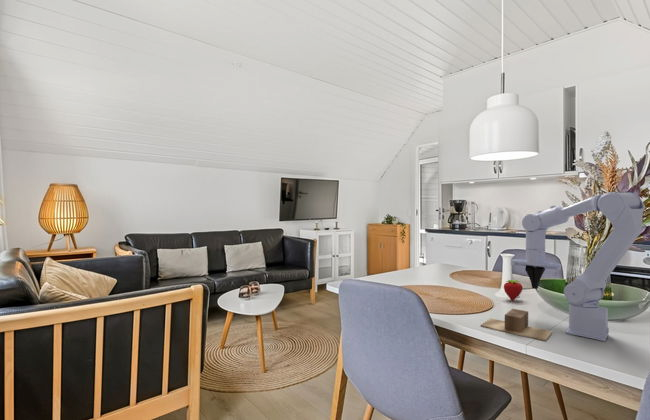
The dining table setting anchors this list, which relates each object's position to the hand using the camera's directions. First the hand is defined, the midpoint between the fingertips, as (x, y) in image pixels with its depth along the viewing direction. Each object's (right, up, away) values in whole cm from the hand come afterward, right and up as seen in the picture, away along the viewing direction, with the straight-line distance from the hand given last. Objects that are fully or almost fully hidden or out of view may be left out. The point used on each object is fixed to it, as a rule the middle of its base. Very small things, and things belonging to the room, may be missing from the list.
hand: (535, 288), depth 118 cm
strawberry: (+5, -10, +22) cm, 25 cm away
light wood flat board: (-13, -11, -10) cm, 20 cm away
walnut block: (-9, -8, -6) cm, 13 cm away
